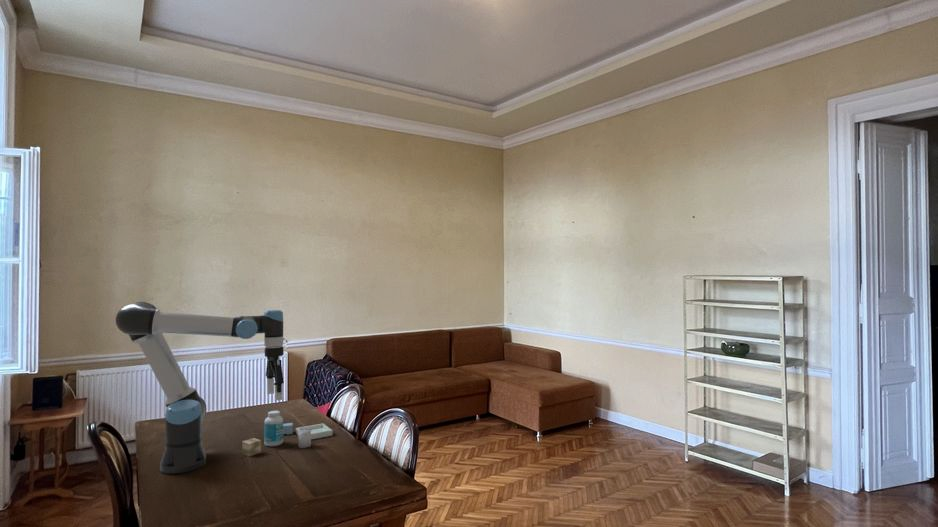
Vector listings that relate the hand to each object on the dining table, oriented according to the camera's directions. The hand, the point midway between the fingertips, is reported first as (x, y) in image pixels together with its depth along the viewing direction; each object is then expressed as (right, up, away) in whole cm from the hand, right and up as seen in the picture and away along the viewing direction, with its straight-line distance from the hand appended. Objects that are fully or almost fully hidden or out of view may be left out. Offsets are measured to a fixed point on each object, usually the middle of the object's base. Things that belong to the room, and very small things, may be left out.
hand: (274, 396), depth 215 cm
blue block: (0, -20, +14) cm, 25 cm away
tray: (+13, -20, +12) cm, 27 cm away
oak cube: (-5, -20, -11) cm, 23 cm away
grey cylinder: (+14, -20, -3) cm, 24 cm away
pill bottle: (0, -20, 0) cm, 20 cm away
